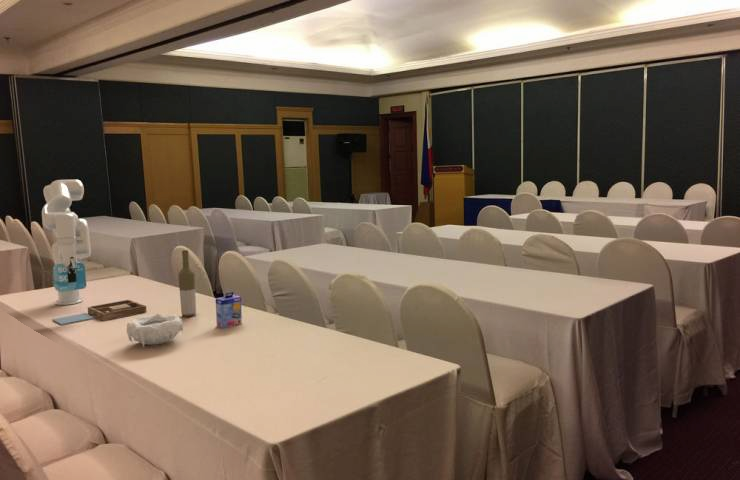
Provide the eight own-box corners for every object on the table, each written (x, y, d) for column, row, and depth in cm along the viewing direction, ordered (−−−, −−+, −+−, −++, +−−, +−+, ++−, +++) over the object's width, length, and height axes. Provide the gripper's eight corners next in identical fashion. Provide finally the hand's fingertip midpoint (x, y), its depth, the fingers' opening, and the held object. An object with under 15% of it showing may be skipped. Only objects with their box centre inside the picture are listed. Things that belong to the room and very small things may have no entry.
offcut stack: (105, 315, 273) (105, 307, 272) (127, 311, 279) (127, 303, 279) (110, 318, 267) (109, 310, 267) (132, 314, 274) (132, 306, 273)
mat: (52, 320, 265) (52, 319, 265) (85, 314, 274) (84, 313, 274) (61, 325, 256) (61, 324, 256) (94, 318, 266) (94, 317, 266)
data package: (58, 292, 258) (55, 265, 256) (54, 291, 261) (52, 264, 259) (86, 288, 266) (84, 262, 264) (83, 287, 269) (81, 261, 268)
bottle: (178, 315, 268) (173, 250, 264) (192, 312, 273) (188, 249, 269) (185, 318, 263) (181, 252, 259) (199, 315, 268) (196, 250, 264)
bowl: (128, 339, 234) (126, 314, 232) (182, 333, 241) (180, 309, 239) (127, 354, 214) (125, 328, 213) (185, 347, 222) (183, 321, 220)
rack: (88, 313, 276) (87, 307, 276) (129, 305, 290) (128, 299, 290) (103, 320, 263) (103, 314, 262) (146, 312, 276) (146, 305, 276)
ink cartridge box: (223, 328, 246) (221, 294, 244) (215, 326, 250) (214, 293, 248) (243, 323, 253) (241, 290, 251) (235, 321, 257) (234, 289, 255)
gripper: (51, 240, 264) (55, 280, 266) (63, 243, 252) (67, 285, 254) (69, 238, 269) (72, 278, 271) (82, 241, 257) (85, 282, 259)
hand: (70, 281), depth 263 cm, fingers closed on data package, 4 cm apart
